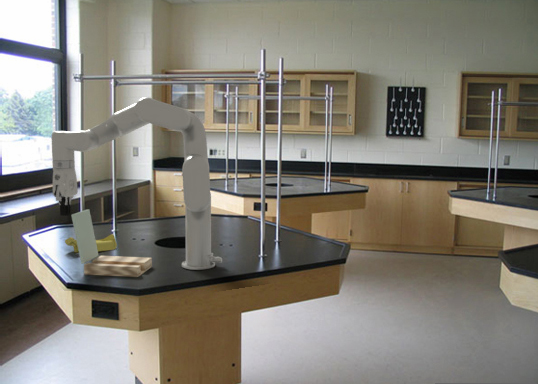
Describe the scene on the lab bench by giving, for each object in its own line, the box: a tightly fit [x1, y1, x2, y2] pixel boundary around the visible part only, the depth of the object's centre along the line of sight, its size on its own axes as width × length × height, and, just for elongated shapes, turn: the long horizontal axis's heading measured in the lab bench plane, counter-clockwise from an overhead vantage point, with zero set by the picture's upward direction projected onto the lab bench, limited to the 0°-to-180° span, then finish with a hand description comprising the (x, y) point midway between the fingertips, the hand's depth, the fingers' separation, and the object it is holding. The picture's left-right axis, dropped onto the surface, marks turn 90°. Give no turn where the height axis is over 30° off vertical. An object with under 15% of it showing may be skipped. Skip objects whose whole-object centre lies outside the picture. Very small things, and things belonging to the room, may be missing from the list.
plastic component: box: [64, 233, 118, 253], centre depth 230 cm, size 20×7×10 cm
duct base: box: [83, 255, 153, 278], centre depth 199 cm, size 20×14×4 cm
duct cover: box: [70, 208, 100, 265], centre depth 199 cm, size 18×12×1 cm
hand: (65, 215), depth 199 cm, fingers closed
